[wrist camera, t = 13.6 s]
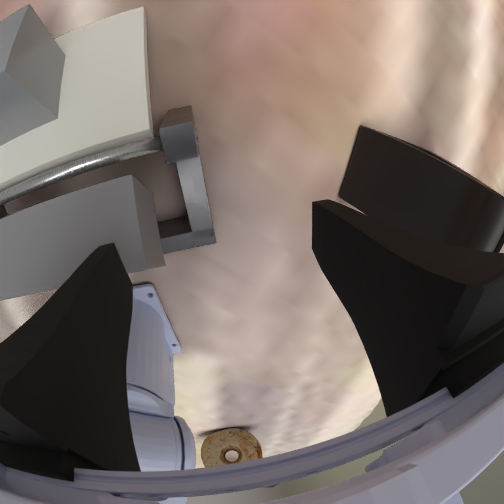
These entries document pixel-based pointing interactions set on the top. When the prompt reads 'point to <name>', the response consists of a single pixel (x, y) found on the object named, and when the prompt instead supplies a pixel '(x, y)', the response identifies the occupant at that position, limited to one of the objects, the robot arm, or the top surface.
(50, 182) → the frame
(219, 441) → the stone disc
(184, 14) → the top surface
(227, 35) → the top surface
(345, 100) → the top surface
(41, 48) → the stone block
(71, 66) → the trapdoor
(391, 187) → the phone stand
